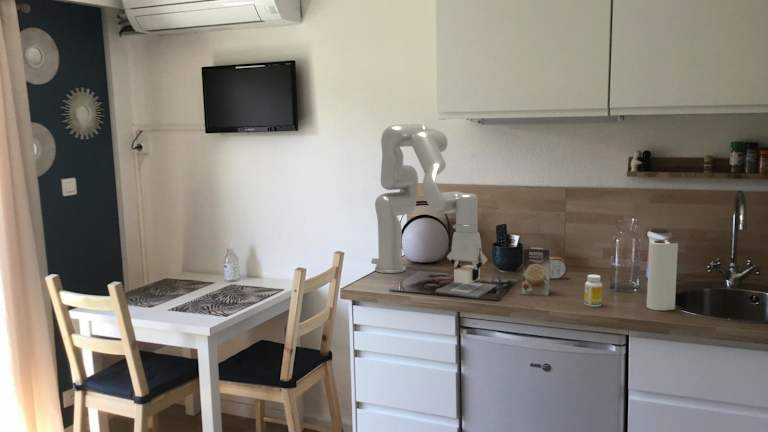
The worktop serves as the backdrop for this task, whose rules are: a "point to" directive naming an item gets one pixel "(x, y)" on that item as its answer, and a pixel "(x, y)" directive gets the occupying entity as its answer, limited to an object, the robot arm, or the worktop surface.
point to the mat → (466, 289)
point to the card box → (464, 274)
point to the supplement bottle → (593, 291)
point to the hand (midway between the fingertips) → (466, 278)
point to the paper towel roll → (662, 275)
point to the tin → (557, 268)
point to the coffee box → (536, 270)
